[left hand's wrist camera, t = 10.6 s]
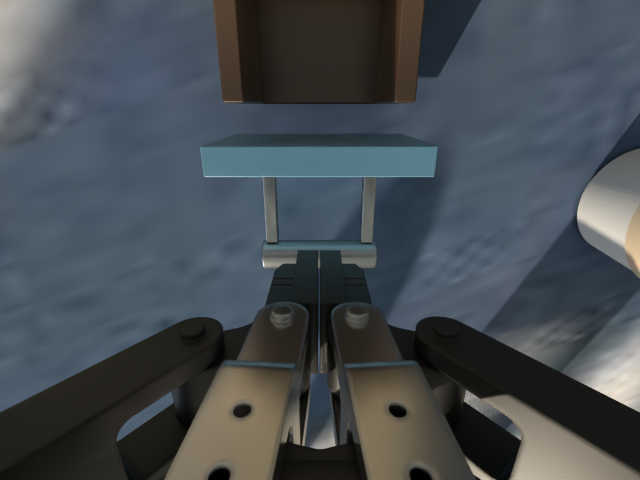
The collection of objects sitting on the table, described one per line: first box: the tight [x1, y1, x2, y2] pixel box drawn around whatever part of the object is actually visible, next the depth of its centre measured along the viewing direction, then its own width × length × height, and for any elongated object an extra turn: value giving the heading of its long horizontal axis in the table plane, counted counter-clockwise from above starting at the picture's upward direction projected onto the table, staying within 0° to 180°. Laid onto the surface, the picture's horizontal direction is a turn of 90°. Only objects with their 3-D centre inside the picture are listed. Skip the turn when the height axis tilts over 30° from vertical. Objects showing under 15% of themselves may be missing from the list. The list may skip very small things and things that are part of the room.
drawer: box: [200, 0, 438, 268], centre depth 14 cm, size 24×9×6 cm, turn 0°
